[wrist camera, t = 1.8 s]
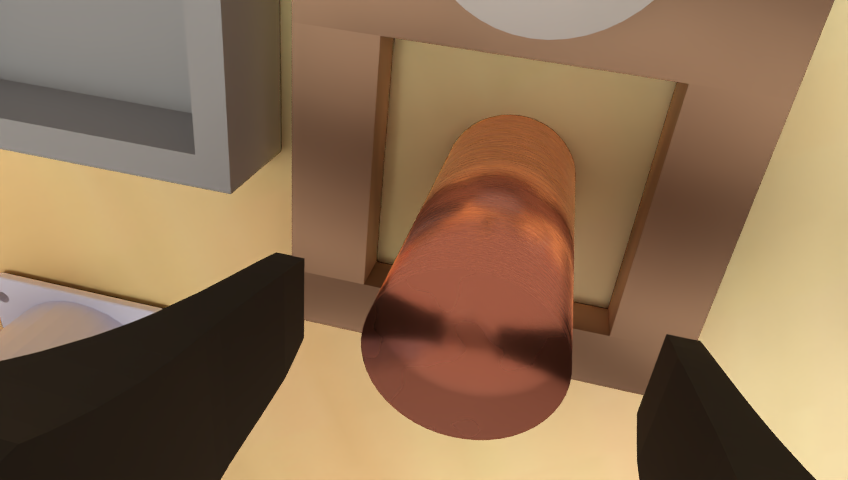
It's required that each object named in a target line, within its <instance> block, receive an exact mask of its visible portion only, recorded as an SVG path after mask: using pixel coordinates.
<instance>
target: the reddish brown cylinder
mask: <svg viewBox="0 0 848 480" xmlns="http://www.w3.org/2000/svg"><path fill="white" fill-rule="evenodd" d="M574 227H575V166H574V162H573V158H572V156H571V153H570V151H569V149H568V147H567V146H566V144H565V143H564V141H563V140H562V139H561V138H560V136H559V135H557V134H556V133H555V132H554V131H553V130H552V129H550V128H549V127H548V126H546V125H545V124H543V123H541V122H539V121H537V120H534V119H531V118H528V117H524V116H519V115H500V116H494V117H490V118H487V119H484V120H482V121H479V122H477V123H476V124H474V125H472V126H471V127H470V128H468V129H467V130H466V131H465V132H464V133H463V134H462V135H461V136H460V137H459V138H458V139H457V141H456V142H455V143H454V145H453V147H452V149H451V151H450V153H449V155H448V157H447V159H446V161H445V163H444V165H443V167H442V169H441V171H440V173H439V175H438V176H437V178H436V180H435V182H434V184H433V186H432V188H431V190H430V192H429V194H428V196H427V198H426V200H425V202H424V204H423V206H422V208H421V210H420V212H419V214H418V216H417V218H416V220H415V222H414V224H413V226H412V228H411V230H410V232H409V234H408V236H407V238H406V240H405V242H404V244H403V246H402V248H401V250H400V252H399V254H398V255H397V257H396V259H395V261H394V263H393V265H392V267H391V269H390V271H389V273H388V275H387V277H386V279H385V281H384V283H383V285H382V287H381V289H380V291H379V293H378V295H377V297H376V299H375V301H374V303H373V305H372V307H371V309H370V311H369V313H368V315H367V317H366V319H365V322H364V326H363V330H362V336H361V350H362V356H363V361H364V364H365V367H366V370H367V372H368V374H369V376H370V379H371V381H372V382H373V384H374V385H375V387H376V388H377V390H378V391H379V392H380V394H381V395H382V396H383V397H384V398H385V400H386V401H387V402H388V403H390V404H391V405H392V406H393V407H394V408H395V409H396V410H397V411H399V412H400V413H401V414H402V415H404V416H405V417H407V418H408V419H410V420H412V421H413V422H415V423H417V424H419V425H421V426H423V427H425V428H427V429H429V430H432V431H435V432H437V433H440V434H444V435H447V436H451V437H456V438H462V439H471V440H491V439H501V438H505V437H510V436H514V435H517V434H520V433H523V432H525V431H527V430H529V429H531V428H533V427H535V426H537V425H538V424H540V423H541V422H543V421H544V420H546V419H547V418H548V417H549V416H550V415H551V414H552V413H553V412H554V411H555V410H556V409H557V408H558V406H559V405H560V404H561V402H562V400H563V399H564V397H565V395H566V393H567V390H568V388H569V385H570V380H571V375H572V339H573V283H574Z"/></svg>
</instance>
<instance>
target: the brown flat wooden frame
mask: <svg viewBox="0 0 848 480" xmlns="http://www.w3.org/2000/svg"><path fill="white" fill-rule="evenodd" d="M833 2H834V0H292V256H295V257H300V258H305V267H304V320H306V321H311V322H315V323H320V324H324V325H329V326H333V327H338V328H342V329H347V330H351V331H356V332H361V333H362V330H363V326H364V322H365V319H366V317H367V315H368V313H369V311H370V309H371V307H372V305H373V303H374V301H375V299H376V297H377V295H378V293H379V291H380V289H381V287H382V285H383V283H384V281H385V279H386V277H387V275H388V273H389V271H390V269H391V267H392V265H390V264H385V263H380V262H376V260H377V247H378V234H379V221H380V208H381V195H382V182H383V169H384V156H385V143H386V130H387V117H388V104H389V91H390V78H391V65H392V52H393V39H394V38H397V39H404V40H410V41H416V42H423V43H429V44H436V45H442V46H449V47H455V48H462V49H468V50H475V51H481V52H487V53H494V54H500V55H507V56H513V57H520V58H526V59H533V60H539V61H545V62H552V63H558V64H565V65H571V66H578V67H584V68H591V69H597V70H604V71H610V72H616V73H623V74H629V75H636V76H642V77H649V78H655V79H662V80H668V81H674V82H677V84H676V87H675V90H674V94H673V97H672V100H671V104H670V107H669V110H668V113H667V117H666V120H665V123H664V127H663V130H662V133H661V136H660V140H659V143H658V146H657V150H656V153H655V156H654V159H653V163H652V166H651V169H650V173H649V176H648V179H647V182H646V186H645V189H644V192H643V196H642V199H641V202H640V205H639V209H638V212H637V215H636V219H635V222H634V225H633V229H632V232H631V235H630V238H629V242H628V245H627V248H626V252H625V255H624V258H623V261H622V265H621V268H620V271H619V275H618V278H617V281H616V284H615V288H614V291H613V294H612V298H611V301H610V304H609V307H608V309H604V308H600V307H595V306H590V305H585V304H580V303H575V302H573V339H572V375H571V379H573V380H578V381H582V382H587V383H591V384H596V385H600V386H605V387H609V388H614V389H618V390H623V391H627V392H632V393H636V394H641V395H644V393H645V391H646V388H647V385H648V383H649V380H650V377H651V374H652V372H653V369H654V366H655V364H656V361H657V358H658V355H659V353H660V350H661V347H662V345H663V342H664V339H665V337H666V334H669V335H674V336H679V337H683V338H688V339H693V340H698V338H699V335H700V333H701V330H702V328H703V325H704V323H705V321H706V318H707V316H708V313H709V311H710V308H711V306H712V303H713V301H714V298H715V296H716V293H717V291H718V288H719V286H720V283H721V281H722V278H723V276H724V273H725V271H726V268H727V266H728V263H729V261H730V258H731V256H732V253H733V251H734V248H735V246H736V243H737V241H738V239H739V236H740V234H741V231H742V229H743V226H744V224H745V221H746V219H747V216H748V214H749V211H750V209H751V206H752V204H753V201H754V199H755V196H756V194H757V191H758V189H759V186H760V184H761V181H762V179H763V176H764V174H765V171H766V169H767V166H768V164H769V161H770V159H771V157H772V154H773V152H774V149H775V147H776V144H777V142H778V139H779V137H780V134H781V132H782V129H783V127H784V124H785V122H786V119H787V117H788V114H789V112H790V109H791V107H792V104H793V102H794V99H795V97H796V94H797V92H798V89H799V87H800V84H801V82H802V80H803V77H804V75H805V72H806V70H807V67H808V65H809V62H810V60H811V57H812V55H813V52H814V50H815V47H816V45H817V42H818V40H819V37H820V35H821V32H822V30H823V27H824V25H825V22H826V20H827V17H828V15H829V12H830V10H831V7H832V5H833Z"/></svg>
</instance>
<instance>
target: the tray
mask: <svg viewBox="0 0 848 480" xmlns="http://www.w3.org/2000/svg"><path fill="white" fill-rule="evenodd" d="M0 149H4V150H9V151H14V152H19V153H24V154H29V155H34V156H40V157H45V158H50V159H55V160H60V161H65V162H70V163H75V164H80V165H85V166H90V167H96V168H101V169H106V170H111V171H116V172H121V173H126V174H131V175H136V176H141V177H147V178H152V179H157V180H162V181H167V182H172V183H177V184H182V185H187V186H192V187H197V188H203V189H208V190H213V191H218V192H223V193H228V194H231V193H233V192H234V191H235V190H236V189H237V188H238V187H240V186H241V185H242V184H243V183H244V182H245V181H247V180H248V179H249V178H250V177H251V176H252V175H254V174H255V173H256V172H257V171H258V170H259V169H261V168H262V167H263V166H264V165H265V164H266V163H268V162H269V161H270V160H271V159H272V158H273V157H275V156H276V155H277V154H278V153H279V152H280V151H281V95H280V0H0Z"/></svg>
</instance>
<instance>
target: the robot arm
mask: <svg viewBox="0 0 848 480" xmlns="http://www.w3.org/2000/svg"><path fill="white" fill-rule="evenodd" d="M304 267H305V258H300V257H295V256H291V255H286V254H281V253H275V254H272V255H270V256H268V257H266V258H264V259H262V260H260V261H258V262H256V263H254V264H252V265H250V266H249V267H247V268H245V269H243V270H241V271H239V272H237V273H235V274H233V275H232V276H230V277H228V278H226V279H224V280H222V281H220V282H218V283H216V284H214V285H212V286H210V287H208V288H206V289H204V290H203V291H201V292H199V293H197V294H194V295H192V296H190V297H188V298H186V299H184V300H181V301H179V302H177V303H175V304H173V305H171V306H168V307H166V308H164V309H162V308H158V307H154V306H149V305H145V304H140V303H136V302H132V301H127V300H123V299H118V298H114V297H109V296H105V295H101V294H96V293H92V292H87V291H83V290H78V289H74V288H70V287H65V286H61V285H56V284H52V283H47V282H43V281H39V280H34V279H30V278H25V277H21V276H16V275H12V274H8V273H0V319H1V322H2V326H3V329H2V330H0V480H221V478H222V476H223V474H224V473H225V471H226V469H227V468H228V466H229V464H230V463H231V461H232V460H233V458H234V457H235V455H236V453H237V452H238V450H239V449H240V447H241V446H242V444H243V443H244V441H245V440H246V438H247V437H248V435H249V434H250V432H251V430H252V429H253V427H254V426H255V424H256V423H257V421H258V420H259V418H260V417H261V415H262V414H263V412H264V410H265V409H266V407H267V406H268V404H269V403H270V401H271V400H272V398H273V396H274V395H275V393H276V392H277V390H278V389H279V387H280V385H281V384H282V382H283V381H284V379H285V377H286V375H287V373H288V371H289V369H290V367H291V365H292V363H293V361H294V358H295V356H296V354H297V352H298V350H299V347H300V345H301V343H302V341H303V338H304ZM637 464H638V472H639V480H816V479H815V478H814V477H813V476H812V475H811V474H810V473H809V472H808V471H807V470H806V469H805V468H804V467H803V465H802V464H801V463H800V462H799V461H798V460H797V459H796V458H795V457H794V456H793V454H792V453H791V452H790V451H789V450H788V449H787V448H786V447H785V446H784V445H783V444H782V442H781V441H780V440H779V439H778V438H777V437H776V436H775V434H774V433H773V432H772V431H771V430H770V429H769V427H768V426H767V425H766V424H765V423H764V421H763V420H762V419H761V418H760V417H759V415H758V414H757V413H756V412H755V411H754V409H753V408H752V407H751V406H750V404H749V403H748V402H747V401H746V399H745V398H744V397H743V396H742V394H741V393H740V392H739V390H738V389H737V388H736V387H735V385H734V384H733V383H732V381H731V380H730V379H729V378H728V376H727V375H726V374H725V372H724V371H723V370H722V368H721V367H720V366H719V364H718V363H717V362H716V361H715V359H714V358H713V357H712V355H711V354H710V353H709V351H708V350H707V349H706V348H705V346H704V345H703V344H702V343H701V342H700V341H698V340H693V339H688V338H683V337H679V336H674V335H669V334H666V337H665V339H664V342H663V345H662V347H661V350H660V353H659V355H658V358H657V361H656V364H655V366H654V369H653V372H652V374H651V377H650V380H649V383H648V385H647V388H646V391H645V393H644V396H643V399H642V401H641V404H640V407H639V410H638V412H637Z"/></svg>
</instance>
